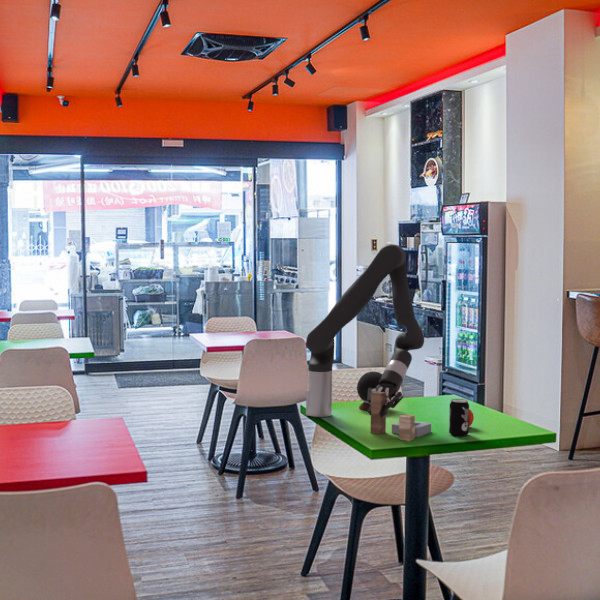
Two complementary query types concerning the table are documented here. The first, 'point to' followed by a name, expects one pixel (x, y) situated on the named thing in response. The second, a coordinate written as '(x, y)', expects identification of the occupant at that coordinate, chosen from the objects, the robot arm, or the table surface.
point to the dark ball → (367, 382)
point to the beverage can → (459, 417)
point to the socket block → (420, 428)
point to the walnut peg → (377, 412)
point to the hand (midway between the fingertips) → (375, 414)
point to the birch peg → (406, 427)
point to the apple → (470, 417)
